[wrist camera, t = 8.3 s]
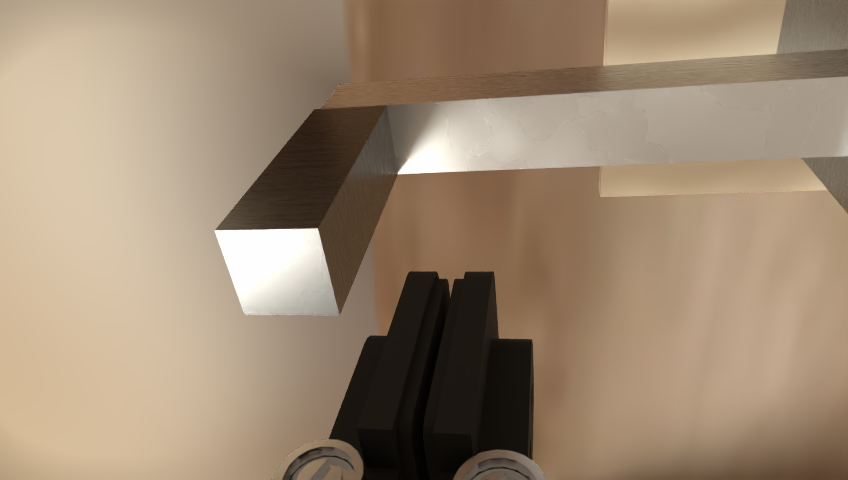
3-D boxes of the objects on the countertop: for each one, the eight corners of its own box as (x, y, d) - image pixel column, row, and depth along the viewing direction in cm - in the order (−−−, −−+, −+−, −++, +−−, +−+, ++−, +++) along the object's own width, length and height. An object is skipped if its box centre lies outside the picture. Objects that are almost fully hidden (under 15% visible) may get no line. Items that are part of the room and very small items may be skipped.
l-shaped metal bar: (970, 116, 19) (1293, 321, 11) (347, 147, 23) (244, 314, 15) (1000, 38, 18) (1393, 204, 10) (334, 84, 21) (215, 230, 13)
